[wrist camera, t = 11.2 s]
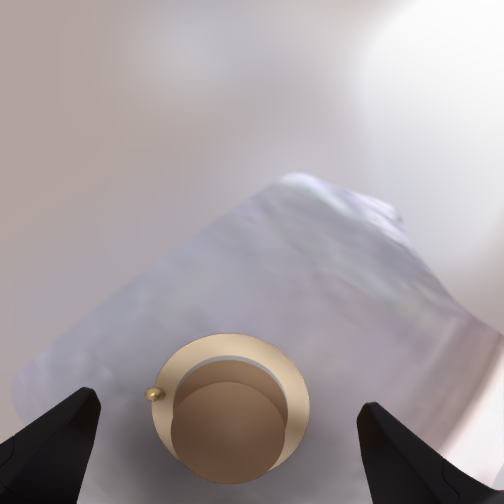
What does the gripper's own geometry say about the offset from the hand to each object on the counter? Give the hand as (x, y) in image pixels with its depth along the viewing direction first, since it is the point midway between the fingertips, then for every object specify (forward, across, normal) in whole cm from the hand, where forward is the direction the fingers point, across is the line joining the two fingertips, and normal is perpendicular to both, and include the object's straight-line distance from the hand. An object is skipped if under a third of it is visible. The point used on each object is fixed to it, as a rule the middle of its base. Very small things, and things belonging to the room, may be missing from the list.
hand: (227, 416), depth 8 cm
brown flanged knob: (+8, 0, +10) cm, 13 cm away
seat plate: (+9, 0, +11) cm, 14 cm away
